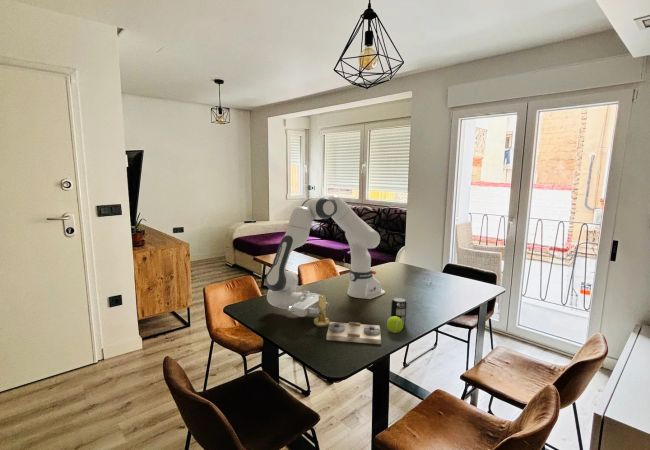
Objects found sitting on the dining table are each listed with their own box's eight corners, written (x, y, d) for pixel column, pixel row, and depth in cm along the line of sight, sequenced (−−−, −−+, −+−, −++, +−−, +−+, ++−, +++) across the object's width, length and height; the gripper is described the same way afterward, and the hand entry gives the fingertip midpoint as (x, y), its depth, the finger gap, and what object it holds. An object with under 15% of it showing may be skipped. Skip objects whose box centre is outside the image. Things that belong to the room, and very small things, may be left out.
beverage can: (394, 320, 161) (396, 295, 159) (407, 324, 157) (409, 299, 155) (387, 324, 156) (389, 299, 154) (400, 328, 152) (402, 303, 150)
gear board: (379, 329, 150) (379, 321, 150) (380, 344, 138) (381, 335, 137) (329, 326, 153) (329, 318, 152) (326, 339, 140) (326, 331, 139)
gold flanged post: (323, 319, 160) (324, 292, 158) (332, 324, 154) (333, 297, 152) (311, 322, 156) (311, 295, 154) (319, 328, 150) (320, 300, 148)
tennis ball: (383, 331, 149) (384, 316, 148) (392, 327, 154) (393, 312, 153) (396, 337, 144) (397, 321, 143) (405, 332, 149) (406, 317, 148)
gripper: (285, 302, 150) (312, 309, 144) (308, 289, 168) (333, 294, 162) (285, 316, 151) (312, 323, 145) (308, 301, 169) (333, 307, 163)
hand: (323, 308), depth 154 cm, fingers open, 7 cm apart
